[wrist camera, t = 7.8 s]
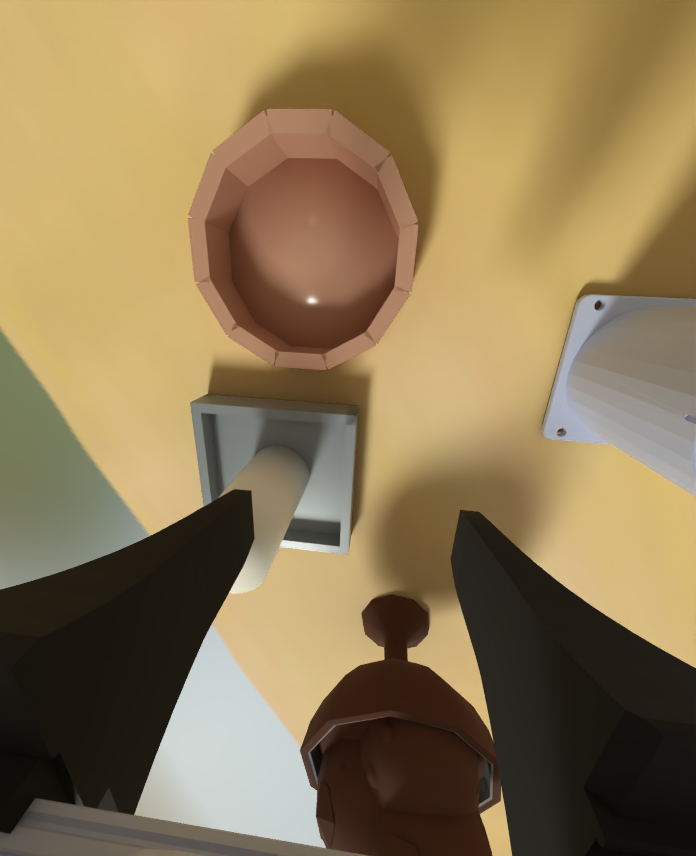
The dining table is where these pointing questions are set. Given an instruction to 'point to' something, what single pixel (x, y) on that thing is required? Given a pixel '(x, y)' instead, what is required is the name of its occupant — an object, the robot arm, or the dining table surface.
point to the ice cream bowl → (400, 752)
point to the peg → (269, 507)
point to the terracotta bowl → (303, 238)
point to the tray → (298, 430)
